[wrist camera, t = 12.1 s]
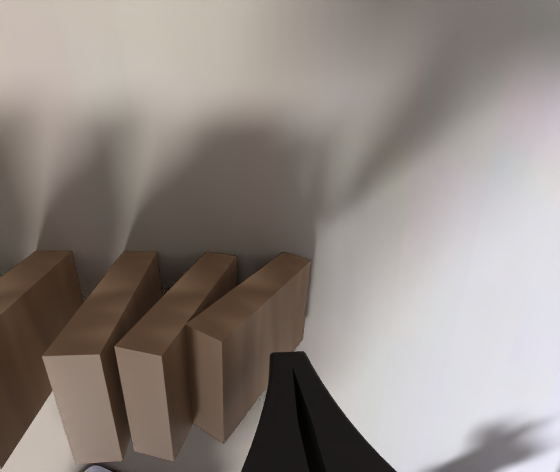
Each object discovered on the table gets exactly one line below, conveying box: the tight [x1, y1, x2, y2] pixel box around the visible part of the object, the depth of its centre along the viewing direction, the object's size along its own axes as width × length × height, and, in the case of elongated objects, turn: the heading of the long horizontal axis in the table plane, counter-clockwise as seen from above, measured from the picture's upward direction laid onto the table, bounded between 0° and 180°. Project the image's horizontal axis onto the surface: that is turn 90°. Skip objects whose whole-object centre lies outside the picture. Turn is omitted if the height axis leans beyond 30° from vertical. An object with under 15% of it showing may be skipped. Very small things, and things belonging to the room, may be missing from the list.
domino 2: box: [42, 251, 162, 464], centre depth 14 cm, size 2×5×7 cm, turn 176°
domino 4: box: [185, 252, 311, 444], centre depth 14 cm, size 2×5×7 cm
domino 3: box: [114, 252, 236, 462], centre depth 14 cm, size 2×5×7 cm, turn 177°
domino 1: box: [0, 251, 83, 469], centre depth 13 cm, size 2×5×7 cm, turn 177°
